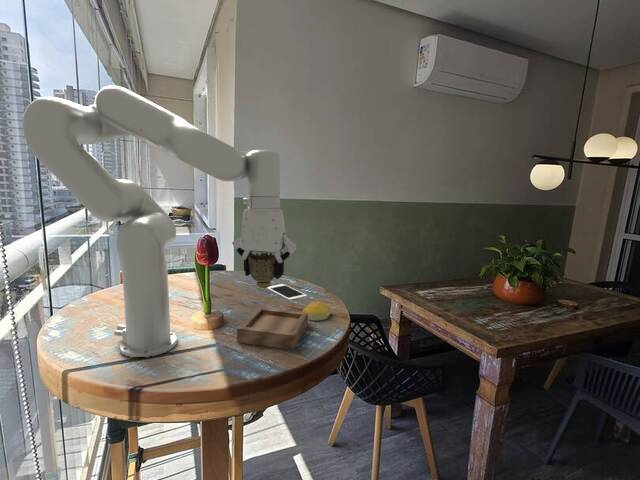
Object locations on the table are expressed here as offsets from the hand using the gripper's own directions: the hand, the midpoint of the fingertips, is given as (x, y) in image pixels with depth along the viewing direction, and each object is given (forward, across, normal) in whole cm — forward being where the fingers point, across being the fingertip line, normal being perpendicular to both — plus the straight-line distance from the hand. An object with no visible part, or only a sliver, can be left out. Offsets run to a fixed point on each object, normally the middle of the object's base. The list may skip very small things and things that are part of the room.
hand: (263, 275), depth 84 cm
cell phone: (+19, -7, +40) cm, 45 cm away
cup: (+3, 0, 0) cm, 3 cm away
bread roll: (+18, +9, +22) cm, 30 cm away
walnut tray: (+18, +1, +6) cm, 19 cm away
